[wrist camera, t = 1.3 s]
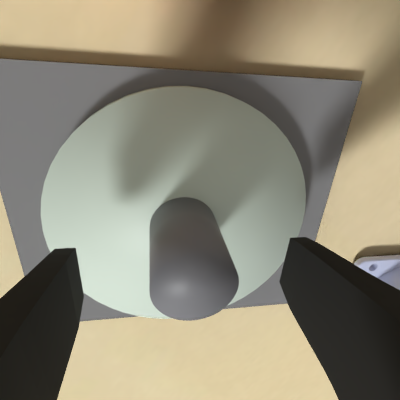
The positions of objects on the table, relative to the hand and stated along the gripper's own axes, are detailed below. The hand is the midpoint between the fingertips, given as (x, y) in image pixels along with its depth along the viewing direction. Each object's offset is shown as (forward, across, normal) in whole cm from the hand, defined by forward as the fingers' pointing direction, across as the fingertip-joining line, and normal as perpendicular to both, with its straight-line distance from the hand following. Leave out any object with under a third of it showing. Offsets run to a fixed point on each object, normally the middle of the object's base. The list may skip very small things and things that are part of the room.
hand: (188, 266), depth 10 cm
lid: (+3, 0, 0) cm, 3 cm away
